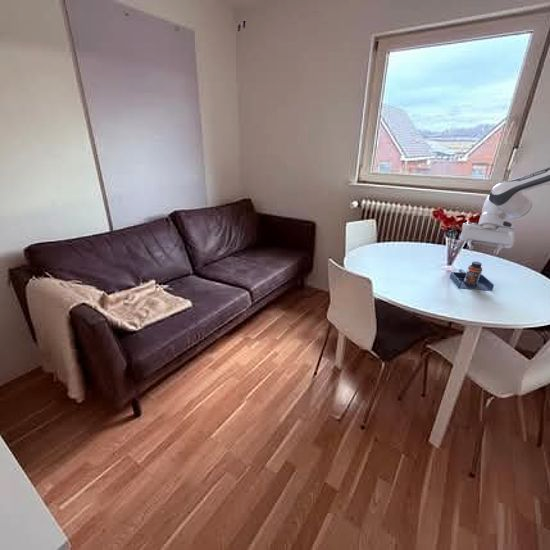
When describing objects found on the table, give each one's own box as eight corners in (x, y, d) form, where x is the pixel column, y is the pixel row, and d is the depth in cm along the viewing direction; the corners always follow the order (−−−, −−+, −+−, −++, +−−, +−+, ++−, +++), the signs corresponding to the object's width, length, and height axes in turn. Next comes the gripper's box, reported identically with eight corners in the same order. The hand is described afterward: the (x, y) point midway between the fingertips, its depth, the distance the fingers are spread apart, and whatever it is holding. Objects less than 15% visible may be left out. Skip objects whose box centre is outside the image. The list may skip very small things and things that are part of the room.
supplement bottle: (462, 284, 154) (469, 263, 149) (463, 280, 159) (470, 259, 154) (476, 287, 151) (483, 266, 146) (477, 283, 156) (484, 262, 151)
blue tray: (491, 290, 149) (494, 284, 147) (458, 288, 150) (460, 282, 149) (473, 274, 166) (475, 268, 165) (444, 271, 168) (446, 266, 167)
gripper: (464, 217, 141) (457, 243, 138) (519, 225, 131) (512, 253, 128) (462, 225, 146) (455, 250, 143) (514, 232, 137) (508, 260, 133)
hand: (482, 251), depth 135 cm, fingers open, 8 cm apart
